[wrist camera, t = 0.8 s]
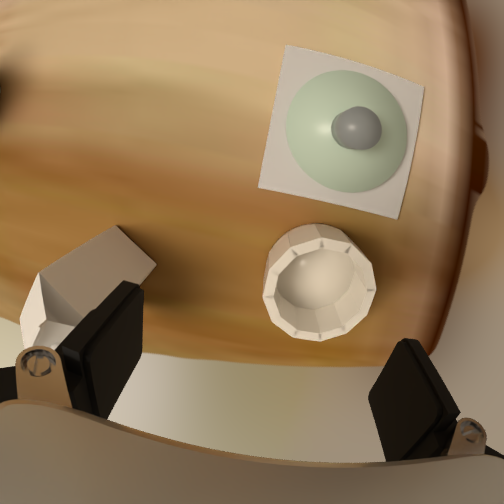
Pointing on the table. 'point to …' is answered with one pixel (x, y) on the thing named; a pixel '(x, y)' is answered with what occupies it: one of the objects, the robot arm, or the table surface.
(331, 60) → the mat
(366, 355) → the table surface
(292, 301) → the bowl
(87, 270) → the milk carton
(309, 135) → the lid
